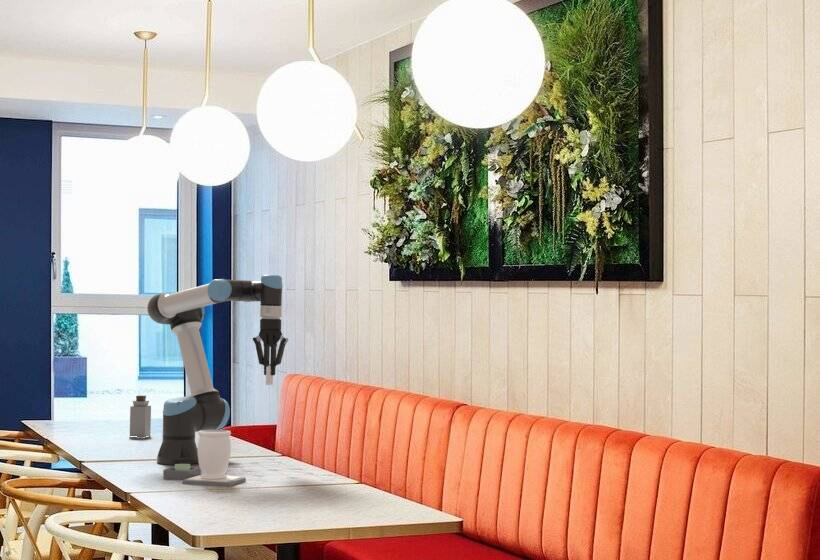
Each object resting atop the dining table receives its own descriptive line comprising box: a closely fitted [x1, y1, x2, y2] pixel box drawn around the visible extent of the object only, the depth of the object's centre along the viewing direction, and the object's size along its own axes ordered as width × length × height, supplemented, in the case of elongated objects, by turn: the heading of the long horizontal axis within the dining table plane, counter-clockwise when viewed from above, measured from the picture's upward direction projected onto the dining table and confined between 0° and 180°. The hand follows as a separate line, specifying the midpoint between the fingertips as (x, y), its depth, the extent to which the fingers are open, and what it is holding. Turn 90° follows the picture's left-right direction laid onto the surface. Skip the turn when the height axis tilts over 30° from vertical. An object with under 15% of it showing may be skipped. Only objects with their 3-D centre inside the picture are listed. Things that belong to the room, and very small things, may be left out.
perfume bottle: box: [129, 394, 152, 437], centre depth 484 cm, size 7×7×18 cm
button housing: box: [162, 466, 202, 481], centre depth 367 cm, size 9×9×3 cm
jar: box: [197, 429, 232, 479], centre depth 359 cm, size 11×10×15 cm
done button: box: [174, 464, 191, 471], centre depth 367 cm, size 5×5×3 cm
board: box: [181, 475, 247, 488], centre depth 359 cm, size 16×13×2 cm
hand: (269, 384), depth 397 cm, fingers closed
